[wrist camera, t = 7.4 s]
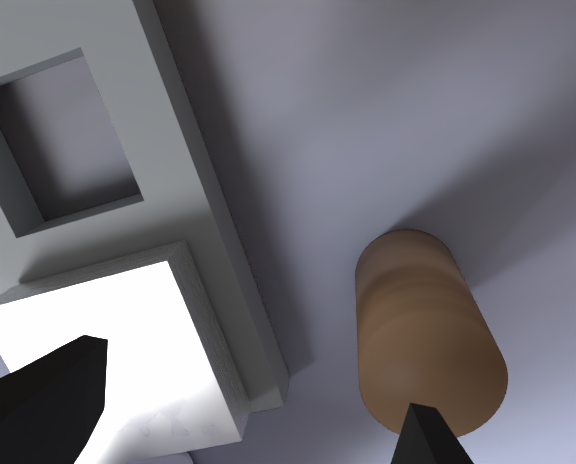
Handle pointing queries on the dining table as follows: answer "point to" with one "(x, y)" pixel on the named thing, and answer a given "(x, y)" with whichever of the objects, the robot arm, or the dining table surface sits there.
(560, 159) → the dining table surface
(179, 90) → the grey flat frame
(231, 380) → the sliding cover
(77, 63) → the dining table surface
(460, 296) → the pin
